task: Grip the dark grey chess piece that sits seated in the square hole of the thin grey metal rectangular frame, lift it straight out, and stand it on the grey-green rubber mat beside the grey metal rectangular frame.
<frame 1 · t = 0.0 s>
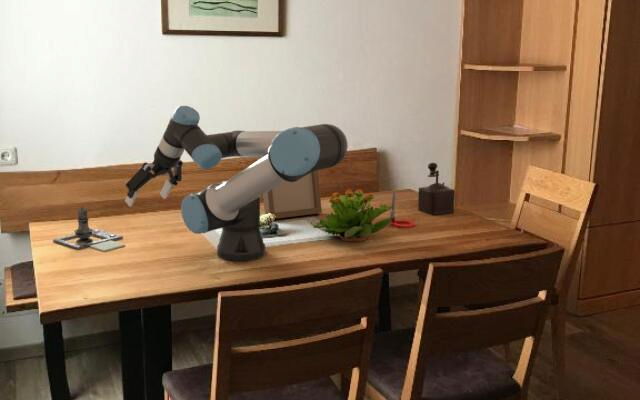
hand: (145, 200, 223), 15 cm above the table, tool tilted 35°, fingers open, 13 cm apart
potted flower: (355, 238, 238), on the table
dark grey chess piece: (84, 241, 231), resting in grey metal rectangular frame
photo frame: (287, 214, 269), on the table
mat: (107, 246, 225), on the table
manual coffee grinder: (432, 210, 279), on the table
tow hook: (401, 225, 256), on the table
grey metal rectangular frame: (88, 239, 232), on the table
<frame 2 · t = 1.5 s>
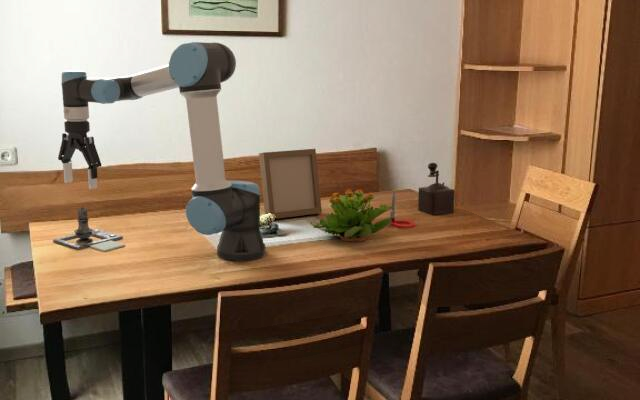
hand: (80, 185, 227), 19 cm above the table, tool pointing down, fingers open, 13 cm apart
nothing on the table moved.
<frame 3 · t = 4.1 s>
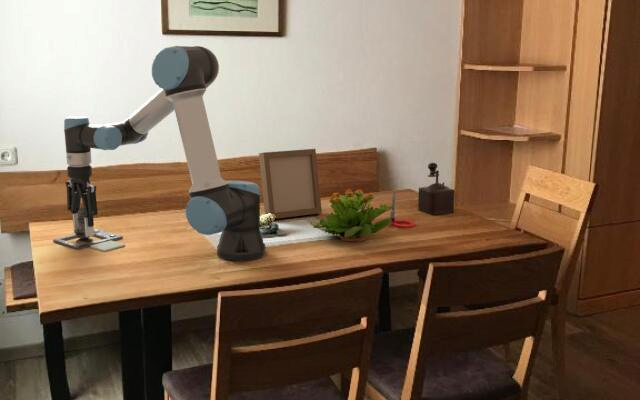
hand: (83, 233, 230), 2 cm above the table, tool pointing down, fingers closed on dark grey chess piece, 6 cm apart
dark grey chess piece: (84, 241, 231), resting in grey metal rectangular frame, touching gripper
everything else where it was.
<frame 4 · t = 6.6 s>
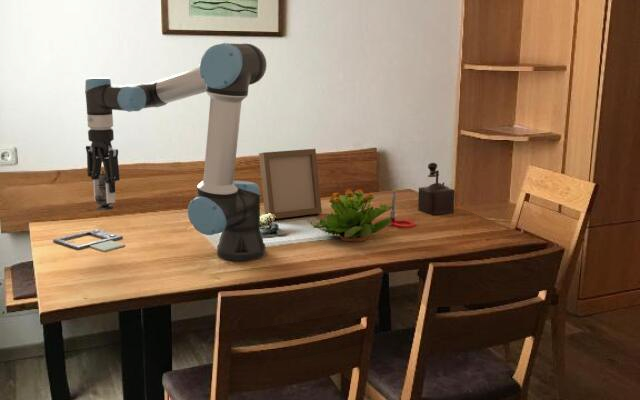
hand: (104, 200, 222), 15 cm above the table, tool pointing down, fingers closed on dark grey chess piece, 6 cm apart
dark grey chess piece: (105, 208, 222), point 13 cm above the table, touching gripper
everything else where it was.
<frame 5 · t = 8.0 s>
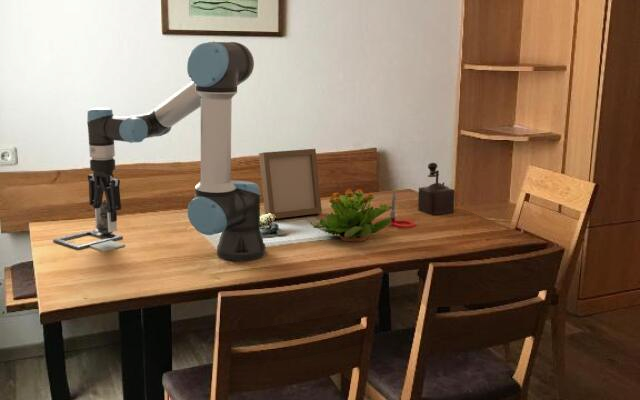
hand: (106, 229, 224), 6 cm above the table, tool pointing down, fingers closed on dark grey chess piece, 6 cm apart
dark grey chess piece: (106, 237, 224), point 3 cm above the table, touching gripper
everything else where it was.
when the fingers open (4 cm above the table, at t = 9.2 s): dark grey chess piece drops 1 cm, resting on mat.
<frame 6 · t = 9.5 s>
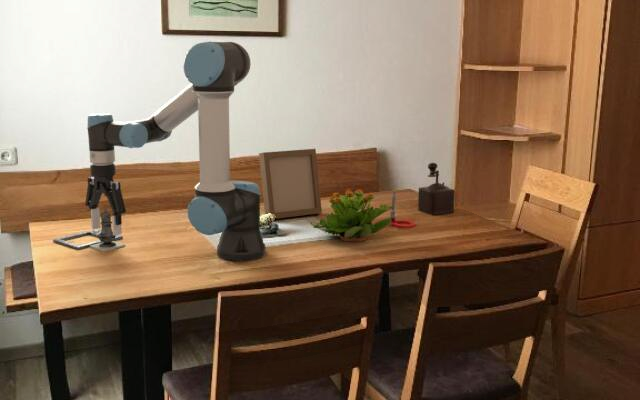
hand: (106, 231, 224), 5 cm above the table, tool pointing down, fingers open, 10 cm apart
dark grey chess piece: (107, 245, 225), resting on mat
everything else where it was.
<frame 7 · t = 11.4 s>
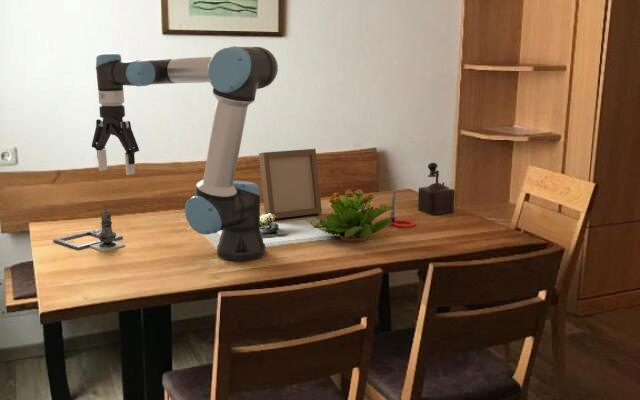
hand: (116, 172, 221), 24 cm above the table, tool pointing down, fingers open, 13 cm apart
nothing on the table moved.
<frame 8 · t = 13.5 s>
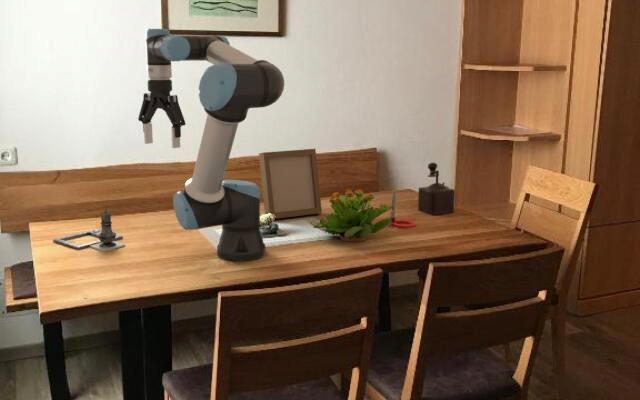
hand: (162, 145, 226), 32 cm above the table, tool pointing down, fingers open, 13 cm apart
nothing on the table moved.
at the end: dark grey chess piece inside the target area on the mat (0.1 cm from its centre), point 0.3 cm above the mat's base; dark grey chess piece tilted 0°; the gripper is holding nothing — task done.
